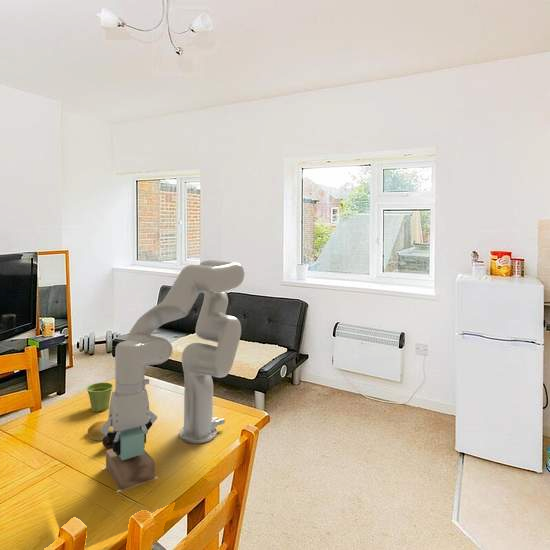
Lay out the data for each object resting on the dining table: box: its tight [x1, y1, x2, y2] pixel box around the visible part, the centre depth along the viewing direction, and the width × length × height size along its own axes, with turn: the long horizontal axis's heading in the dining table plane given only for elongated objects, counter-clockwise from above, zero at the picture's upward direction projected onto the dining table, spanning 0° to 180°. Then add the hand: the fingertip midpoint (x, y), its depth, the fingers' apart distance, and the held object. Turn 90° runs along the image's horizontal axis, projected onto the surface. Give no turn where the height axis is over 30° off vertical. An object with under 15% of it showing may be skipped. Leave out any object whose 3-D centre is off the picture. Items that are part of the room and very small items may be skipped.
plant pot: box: [85, 382, 114, 413], centre depth 157 cm, size 9×9×9 cm
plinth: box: [105, 449, 156, 491], centre depth 114 cm, size 9×13×5 cm
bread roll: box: [87, 420, 113, 441], centre depth 138 cm, size 8×9×4 cm
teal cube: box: [119, 427, 145, 460], centre depth 114 cm, size 6×6×6 cm
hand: (129, 449), depth 114 cm, fingers closed on teal cube, 6 cm apart
